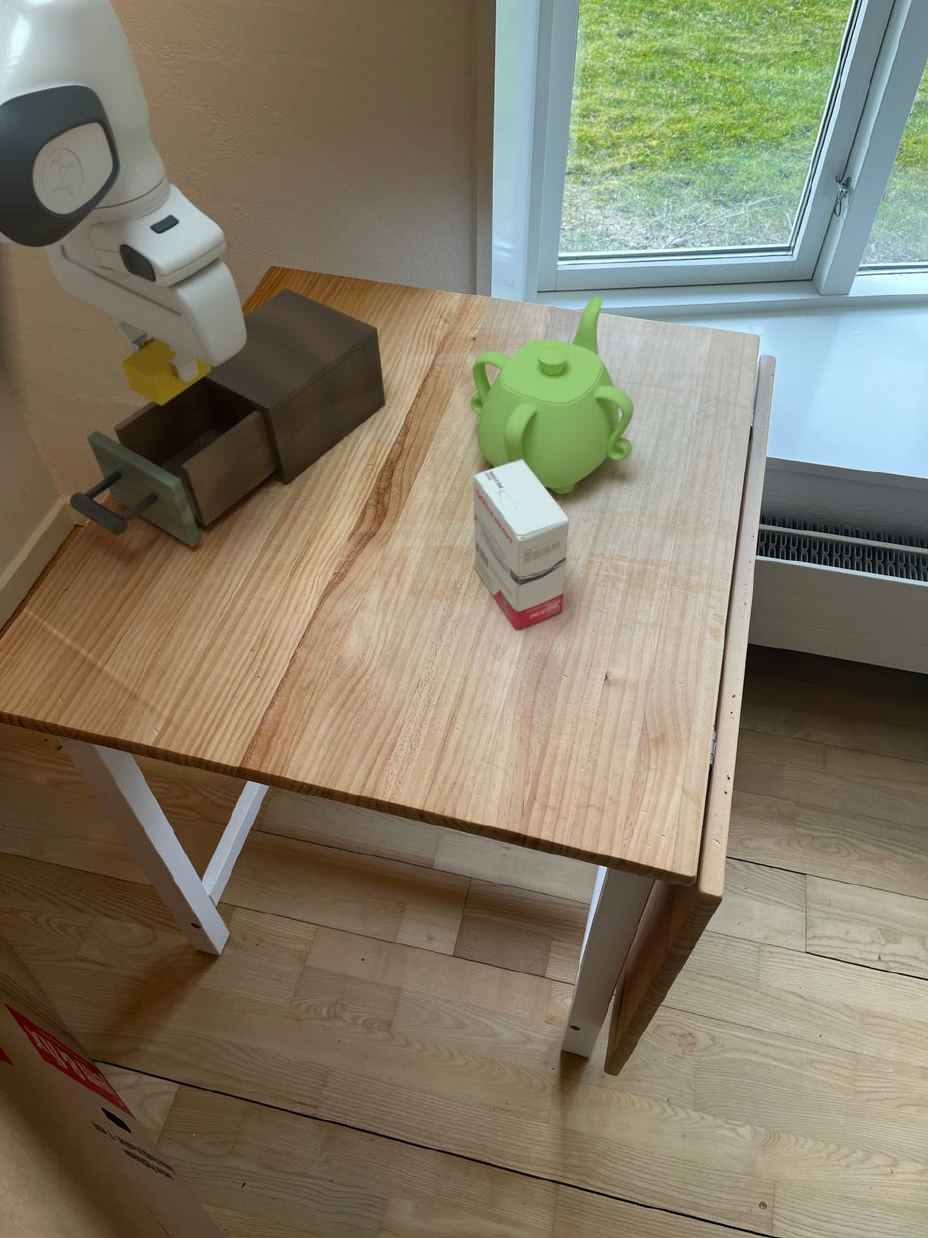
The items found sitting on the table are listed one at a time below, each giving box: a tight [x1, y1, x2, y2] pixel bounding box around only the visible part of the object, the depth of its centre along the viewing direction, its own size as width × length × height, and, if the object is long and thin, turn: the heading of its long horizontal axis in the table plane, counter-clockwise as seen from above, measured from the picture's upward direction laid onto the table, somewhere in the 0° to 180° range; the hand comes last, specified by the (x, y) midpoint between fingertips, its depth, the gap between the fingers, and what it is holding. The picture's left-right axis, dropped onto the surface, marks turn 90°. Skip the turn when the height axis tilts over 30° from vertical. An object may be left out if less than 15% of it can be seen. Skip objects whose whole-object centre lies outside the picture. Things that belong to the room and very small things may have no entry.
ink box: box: [473, 459, 570, 630], centre depth 81 cm, size 8×5×12 cm, turn 26°
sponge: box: [120, 338, 211, 406], centre depth 84 cm, size 6×4×3 cm, turn 143°
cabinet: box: [200, 287, 386, 486], centre depth 98 cm, size 16×13×10 cm
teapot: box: [470, 295, 634, 495], centre depth 93 cm, size 16×14×13 cm
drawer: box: [69, 379, 278, 548], centre depth 90 cm, size 20×11×8 cm, turn 143°
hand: (166, 365), depth 84 cm, fingers closed on sponge, 4 cm apart
